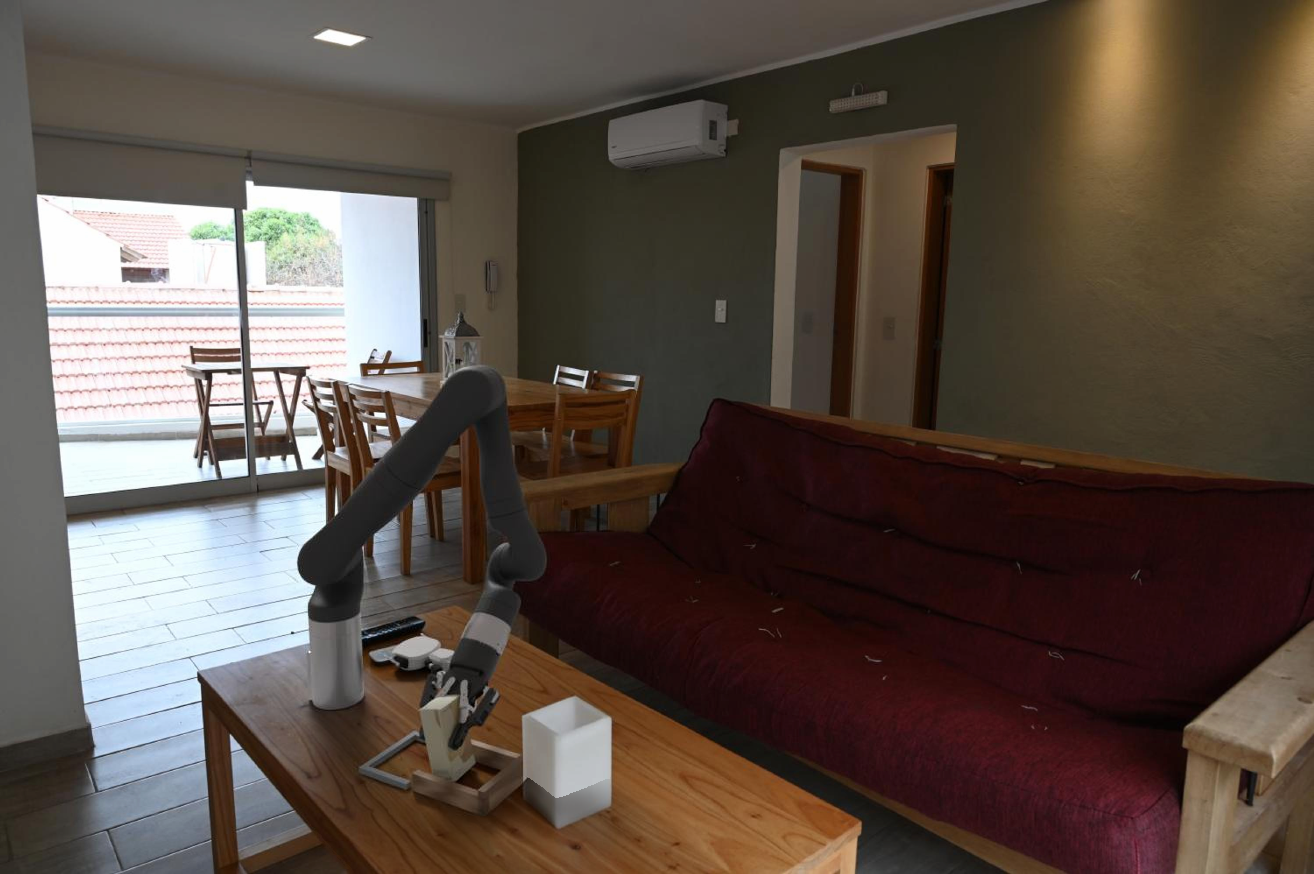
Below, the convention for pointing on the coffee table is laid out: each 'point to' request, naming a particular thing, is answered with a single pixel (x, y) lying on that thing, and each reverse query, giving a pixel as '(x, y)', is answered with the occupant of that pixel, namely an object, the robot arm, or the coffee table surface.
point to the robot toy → (422, 655)
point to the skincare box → (445, 738)
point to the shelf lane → (488, 793)
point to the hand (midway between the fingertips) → (438, 743)
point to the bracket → (381, 775)
